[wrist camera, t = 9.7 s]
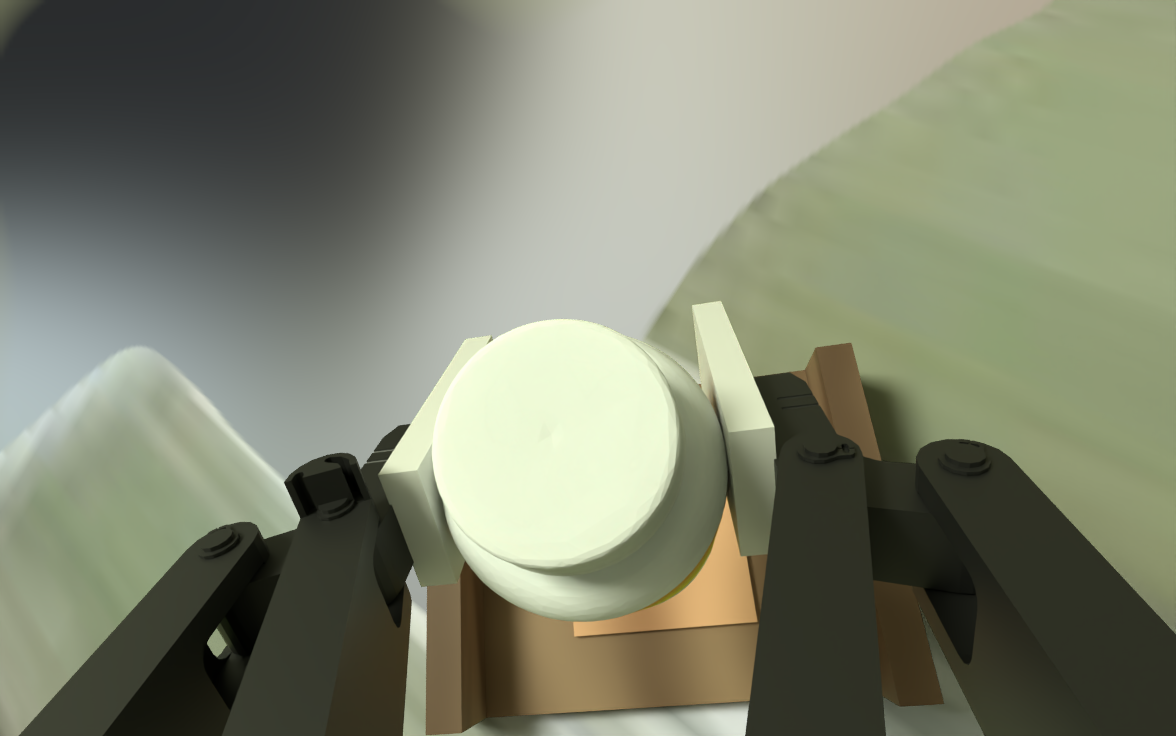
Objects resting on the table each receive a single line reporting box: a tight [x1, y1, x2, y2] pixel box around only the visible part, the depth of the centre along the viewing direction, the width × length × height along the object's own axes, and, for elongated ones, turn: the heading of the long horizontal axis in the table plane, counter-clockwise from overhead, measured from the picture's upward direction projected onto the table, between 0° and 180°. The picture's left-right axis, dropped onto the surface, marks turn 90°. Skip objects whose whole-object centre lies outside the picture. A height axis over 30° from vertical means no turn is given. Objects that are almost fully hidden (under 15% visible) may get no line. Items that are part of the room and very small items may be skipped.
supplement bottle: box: [432, 319, 728, 622], centre depth 14 cm, size 6×6×10 cm
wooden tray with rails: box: [426, 343, 944, 735], centre depth 27 cm, size 20×14×4 cm
